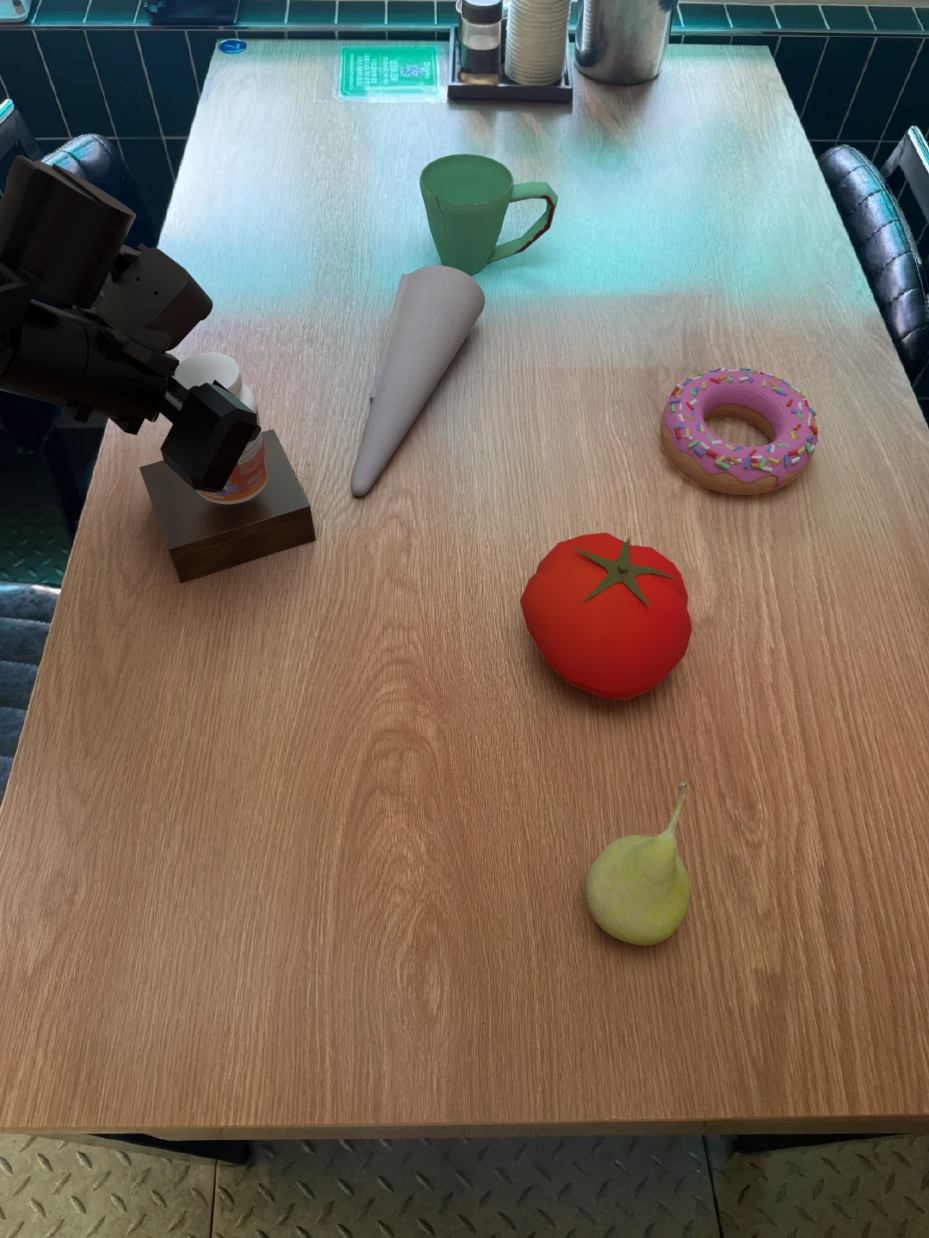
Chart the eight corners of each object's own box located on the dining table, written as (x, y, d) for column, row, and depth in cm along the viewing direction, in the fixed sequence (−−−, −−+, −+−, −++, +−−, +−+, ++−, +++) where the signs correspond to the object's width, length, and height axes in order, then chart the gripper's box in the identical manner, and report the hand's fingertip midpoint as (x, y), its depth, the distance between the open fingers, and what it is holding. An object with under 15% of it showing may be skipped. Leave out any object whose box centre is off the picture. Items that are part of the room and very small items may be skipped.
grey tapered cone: (440, 481, 81) (486, 271, 93) (341, 466, 81) (400, 259, 94) (440, 531, 88) (483, 329, 100) (349, 517, 88) (403, 318, 100)
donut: (634, 411, 93) (644, 371, 89) (767, 389, 95) (782, 349, 91) (690, 518, 85) (703, 479, 81) (834, 491, 87) (853, 452, 83)
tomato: (709, 676, 75) (744, 597, 67) (584, 748, 71) (605, 674, 63) (608, 564, 82) (628, 479, 73) (489, 625, 78) (495, 542, 69)
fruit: (565, 932, 63) (589, 867, 54) (602, 835, 67) (630, 758, 58) (661, 974, 62) (703, 915, 52) (693, 872, 66) (737, 800, 56)
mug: (420, 289, 104) (419, 204, 95) (421, 237, 109) (420, 152, 101) (553, 291, 104) (563, 206, 96) (547, 239, 110) (556, 155, 102)
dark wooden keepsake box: (180, 583, 80) (168, 549, 76) (151, 502, 85) (138, 466, 81) (316, 540, 83) (310, 505, 79) (280, 464, 88) (273, 428, 84)
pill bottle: (177, 487, 77) (144, 379, 68) (227, 443, 80) (202, 334, 71) (236, 519, 75) (210, 412, 66) (285, 473, 78) (267, 365, 69)
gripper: (204, 311, 53) (364, 379, 67) (32, 177, 61) (207, 262, 74) (119, 479, 56) (289, 511, 70) (-35, 331, 64) (146, 386, 77)
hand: (232, 411), depth 73 cm, fingers closed on pill bottle, 6 cm apart
